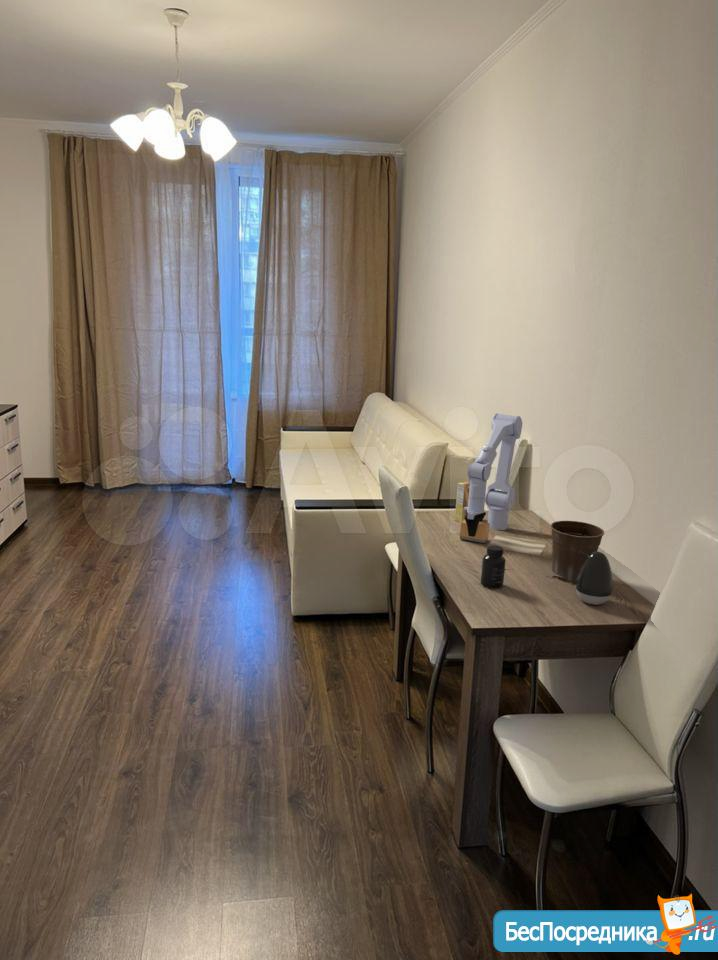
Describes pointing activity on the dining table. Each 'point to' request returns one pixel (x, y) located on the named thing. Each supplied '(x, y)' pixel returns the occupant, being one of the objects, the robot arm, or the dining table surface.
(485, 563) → the supplement bottle
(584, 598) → the black egg shaped device
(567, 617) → the dining table surface
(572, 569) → the plant pot
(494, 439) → the robot arm
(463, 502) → the candy box
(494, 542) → the board
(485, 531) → the block
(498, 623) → the dining table surface
